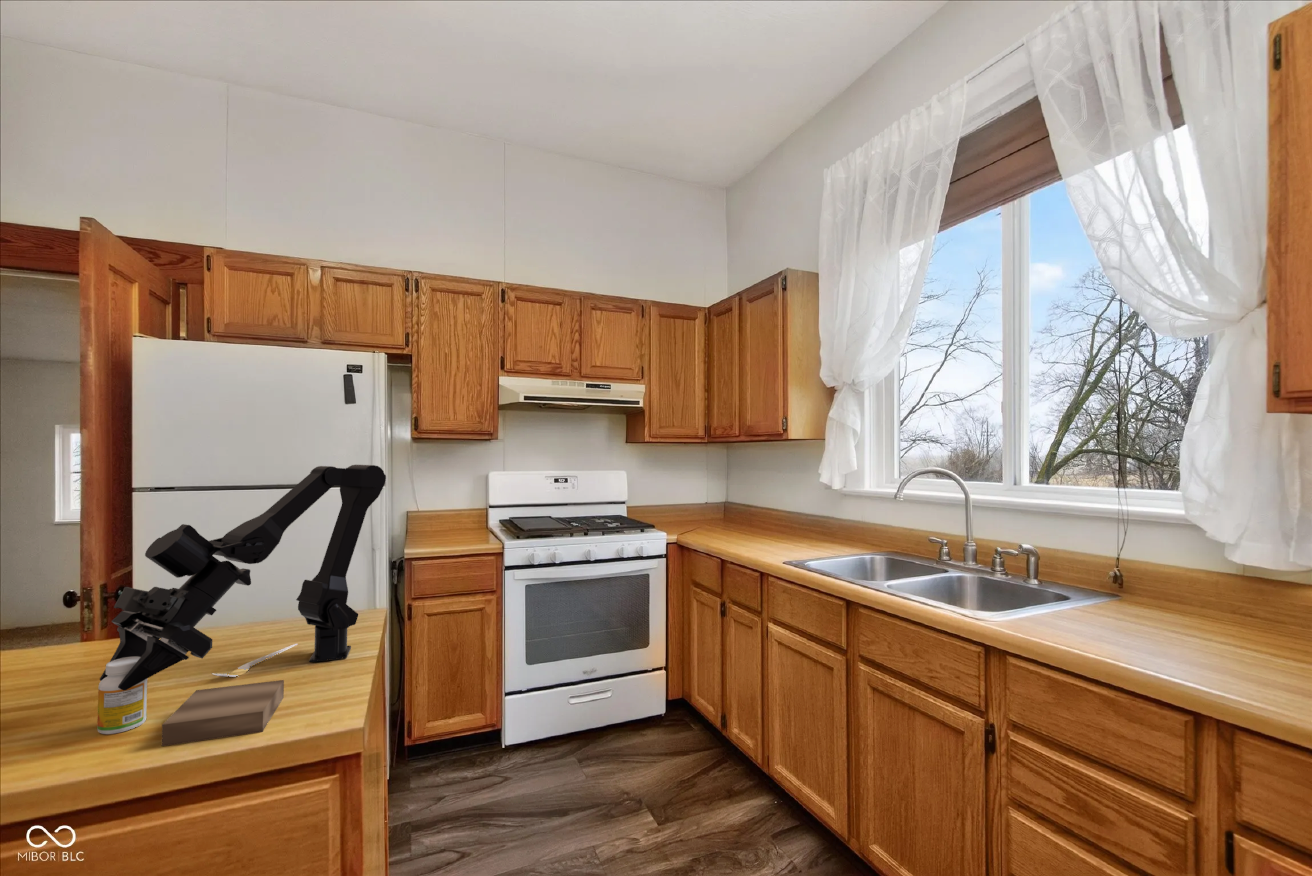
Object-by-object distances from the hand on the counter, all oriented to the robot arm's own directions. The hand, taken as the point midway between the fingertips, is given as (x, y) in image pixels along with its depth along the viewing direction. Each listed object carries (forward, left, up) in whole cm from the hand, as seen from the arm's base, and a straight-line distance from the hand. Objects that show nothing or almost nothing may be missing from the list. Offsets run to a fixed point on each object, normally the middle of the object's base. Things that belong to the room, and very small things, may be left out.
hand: (111, 685), depth 83 cm
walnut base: (+2, +15, -7) cm, 16 cm away
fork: (-24, +13, -7) cm, 28 cm away
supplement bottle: (-1, +1, -7) cm, 7 cm away
